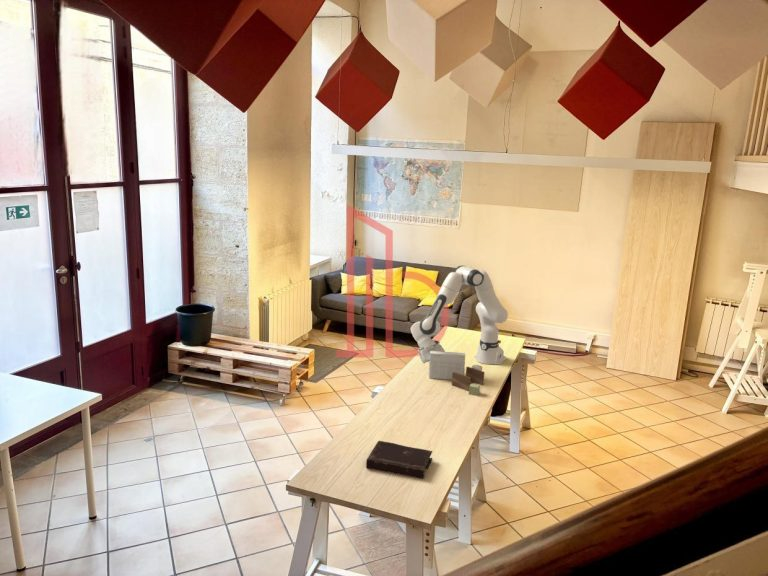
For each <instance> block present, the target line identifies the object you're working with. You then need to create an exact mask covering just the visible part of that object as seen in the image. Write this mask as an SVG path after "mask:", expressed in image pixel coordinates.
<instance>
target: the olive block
mask: <svg viewBox="0 0 768 576" xmlns="http://www.w3.org/2000/svg"><path fill="white" fill-rule="evenodd" d="M480 390H481V385H480V384H477V383H474V382H471V383H470V386H469V391H468V395H470V396H476V397H478V396H479V394H480V392H481V391H480Z"/></svg>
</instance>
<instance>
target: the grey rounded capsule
mask: <svg viewBox="0 0 768 576" xmlns="http://www.w3.org/2000/svg"><path fill="white" fill-rule="evenodd" d="M471 368H474V369H477V370H480V371H483V366H482V365H479V364H473V365H471Z"/></svg>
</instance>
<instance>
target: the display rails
mask: <svg viewBox="0 0 768 576" xmlns="http://www.w3.org/2000/svg"><path fill="white" fill-rule="evenodd" d="M484 380H485V371H483V370H482V371H480V370H477V369H474V368H472V366H471V367H470V366H466V369H465V374H464V375H461V374H458V373H455V372H453V375H452V380H451V386H453V387H456V388H458V389H461V390H463V391H467V392H469V386H470V385H471V383H473V384H479V385H480V386H483V385H484V382H485V381H484Z"/></svg>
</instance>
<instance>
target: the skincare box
mask: <svg viewBox="0 0 768 576" xmlns="http://www.w3.org/2000/svg"><path fill="white" fill-rule="evenodd" d="M465 364H466V353H465V352H454V351H453V352H452V351H445V352H439V351H430V361H429V368H428V370H429V371H428V379H431V380H432V379H435V380H436V379H437V380H450V381H452V375H453V372H455V373H458V374H461V375H465Z"/></svg>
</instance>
